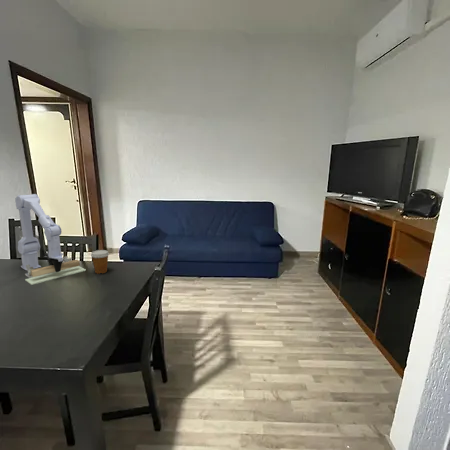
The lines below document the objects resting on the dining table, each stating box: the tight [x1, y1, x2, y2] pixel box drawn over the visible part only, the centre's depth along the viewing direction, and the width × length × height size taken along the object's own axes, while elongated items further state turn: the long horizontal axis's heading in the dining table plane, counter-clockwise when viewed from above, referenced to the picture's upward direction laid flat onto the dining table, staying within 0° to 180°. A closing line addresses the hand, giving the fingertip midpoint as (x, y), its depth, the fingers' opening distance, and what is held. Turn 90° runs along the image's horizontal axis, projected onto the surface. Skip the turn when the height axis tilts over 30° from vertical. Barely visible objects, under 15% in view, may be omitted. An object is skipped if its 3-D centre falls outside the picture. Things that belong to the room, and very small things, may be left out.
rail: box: [31, 259, 81, 277], centre depth 158 cm, size 3×24×3 cm, turn 141°
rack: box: [24, 255, 73, 278], centre depth 164 cm, size 7×23×6 cm, turn 141°
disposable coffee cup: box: [90, 249, 110, 275], centre depth 165 cm, size 10×10×12 cm
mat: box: [24, 265, 87, 286], centre depth 159 cm, size 9×28×1 cm, turn 141°
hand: (56, 270), depth 159 cm, fingers closed on rail, 3 cm apart
